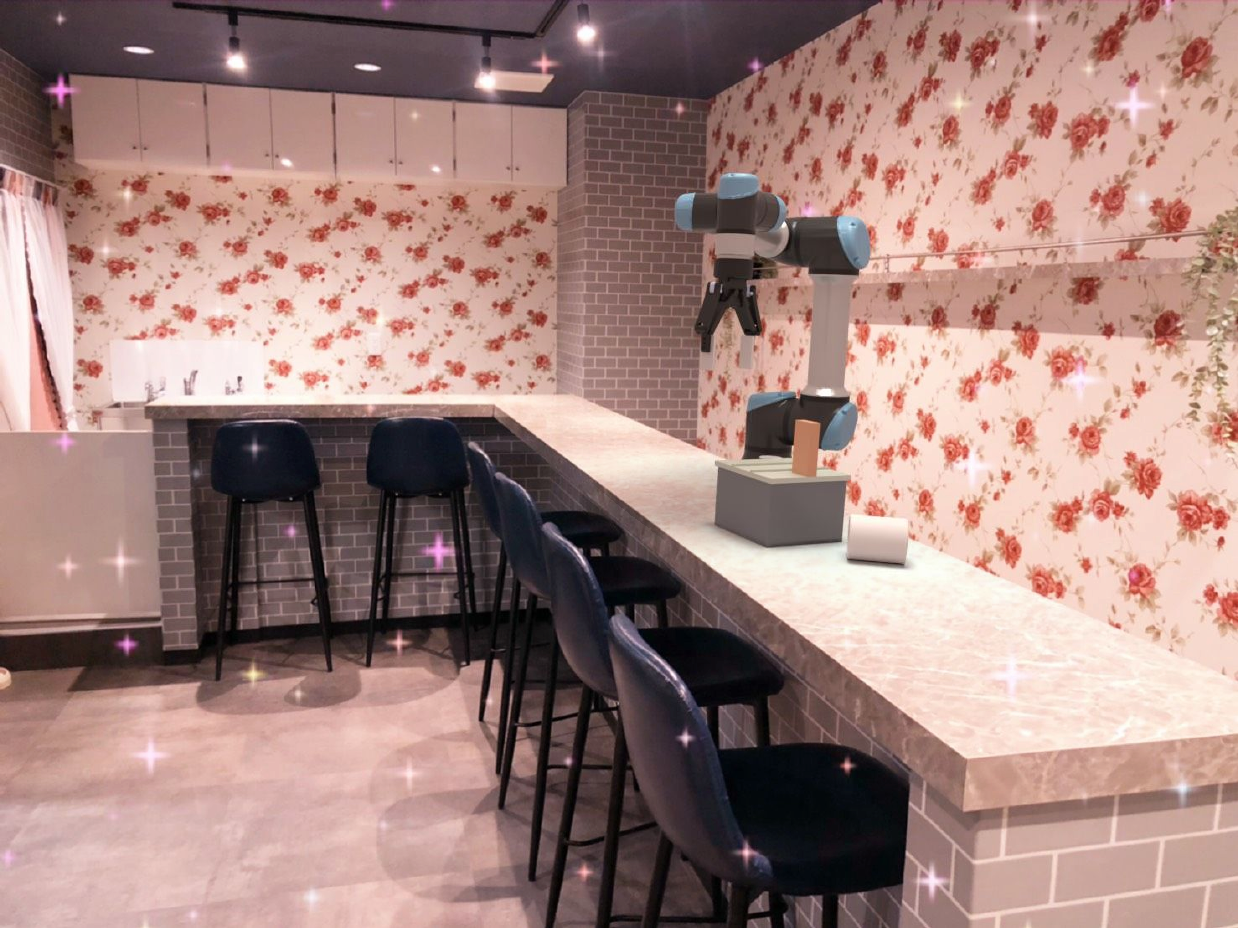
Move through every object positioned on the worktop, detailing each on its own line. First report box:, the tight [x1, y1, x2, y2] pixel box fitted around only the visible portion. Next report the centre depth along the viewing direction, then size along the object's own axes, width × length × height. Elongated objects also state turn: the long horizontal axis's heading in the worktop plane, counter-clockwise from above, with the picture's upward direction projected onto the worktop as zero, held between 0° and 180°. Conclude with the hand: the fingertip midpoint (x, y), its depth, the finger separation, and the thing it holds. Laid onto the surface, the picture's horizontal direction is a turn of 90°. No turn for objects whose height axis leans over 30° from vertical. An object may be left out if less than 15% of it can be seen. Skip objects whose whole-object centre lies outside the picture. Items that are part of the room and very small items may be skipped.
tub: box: [714, 466, 847, 548], centre depth 193 cm, size 17×19×12 cm
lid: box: [714, 420, 852, 484], centre depth 191 cm, size 18×20×12 cm
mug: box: [846, 513, 910, 565], centre depth 178 cm, size 12×10×8 cm
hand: (726, 369), depth 192 cm, fingers open, 13 cm apart
